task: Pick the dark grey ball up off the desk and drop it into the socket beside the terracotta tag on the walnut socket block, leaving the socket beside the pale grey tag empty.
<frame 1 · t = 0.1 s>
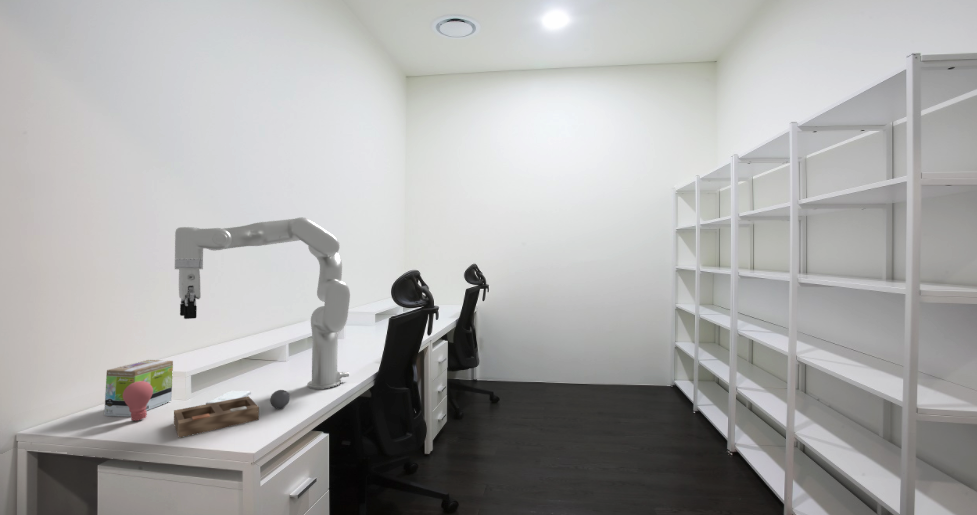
hand: (188, 316, 134), 31 cm above the table, tool pointing down, fingers open, 9 cm apart
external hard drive: (229, 401, 146), on the table
dark grey ball: (280, 399, 138), point 3 cm above the table
light bulb: (137, 421, 126), on the table
socket block: (216, 421, 126), on the table
tea box: (140, 409, 136), on the table
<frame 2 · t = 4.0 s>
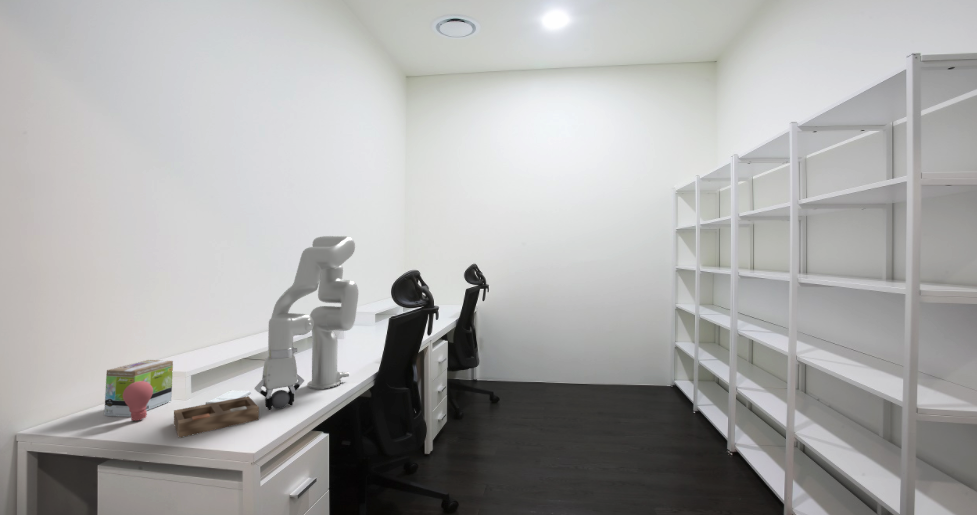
hand: (279, 406, 138), 1 cm above the table, tool pointing down, fingers closed on dark grey ball, 5 cm apart
dark grey ball: (279, 399, 138), point 3 cm above the table, touching gripper
everything else where it was.
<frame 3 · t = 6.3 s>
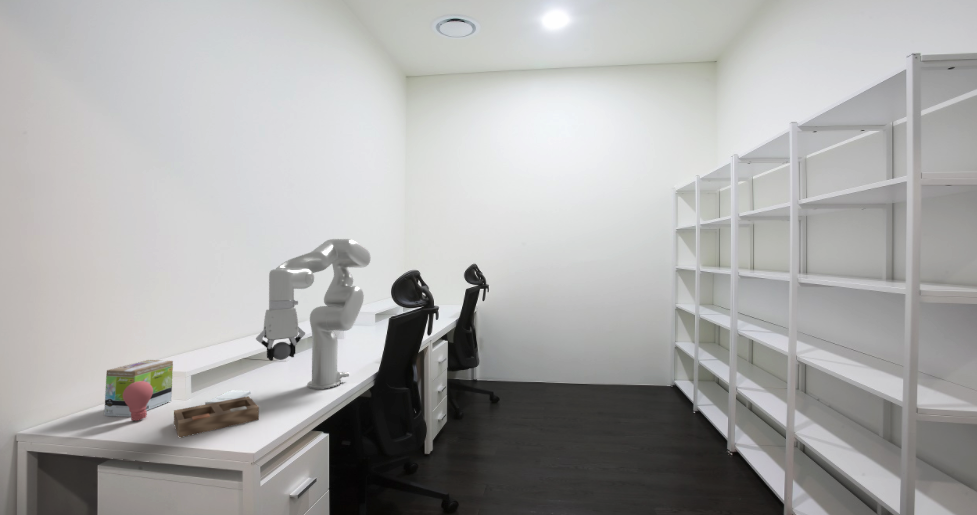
hand: (281, 357, 138), 17 cm above the table, tool pointing down, fingers closed on dark grey ball, 5 cm apart
dark grey ball: (281, 350, 138), point 19 cm above the table, touching gripper
everything else where it was.
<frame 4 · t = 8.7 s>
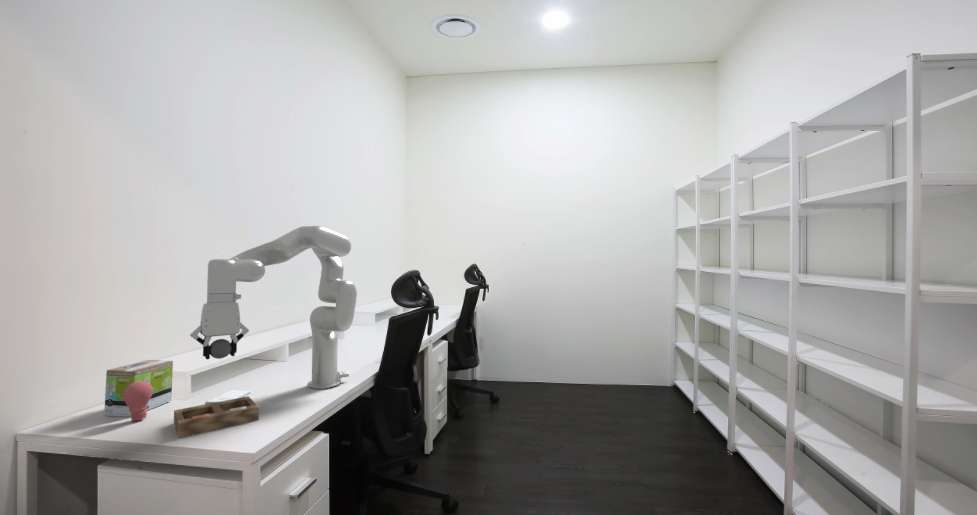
hand: (219, 356, 126), 20 cm above the table, tool pointing down, fingers closed on dark grey ball, 5 cm apart
dark grey ball: (220, 348, 126), point 22 cm above the table, touching gripper
everything else where it was.
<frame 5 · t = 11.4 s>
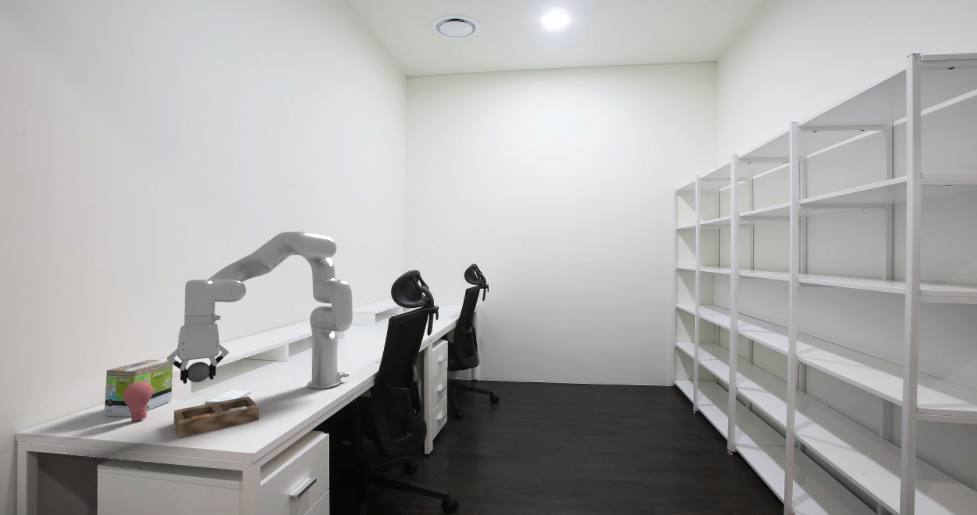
hand: (198, 380, 123), 14 cm above the table, tool pointing down, fingers closed on dark grey ball, 5 cm apart
dark grey ball: (198, 372, 123), point 16 cm above the table, touching gripper
everything else where it was.
when the fingers open (5 cm above the table, at t = 13.8 s): dark grey ball drops 4 cm, point 3 cm above the table.
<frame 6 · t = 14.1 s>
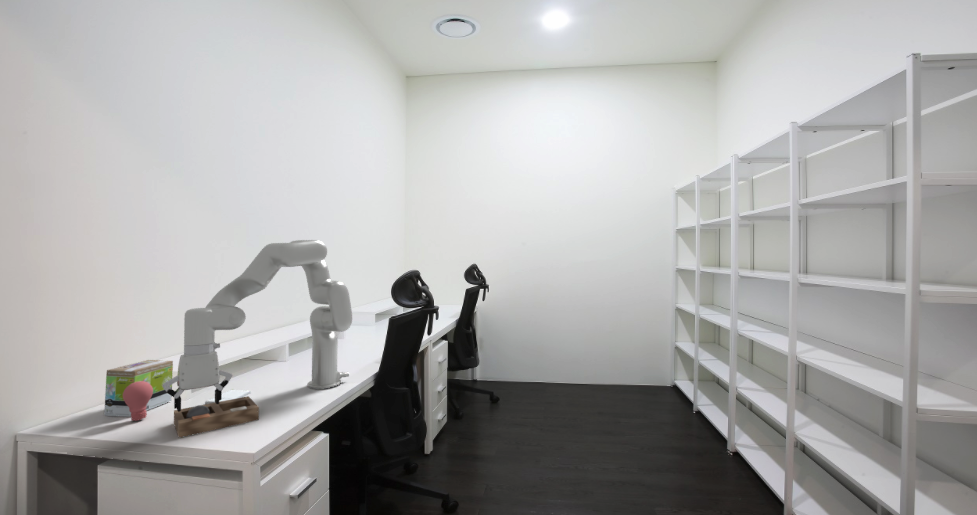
hand: (198, 406, 123), 6 cm above the table, tool pointing down, fingers open, 9 cm apart
dark grey ball: (198, 415, 123), point 3 cm above the table
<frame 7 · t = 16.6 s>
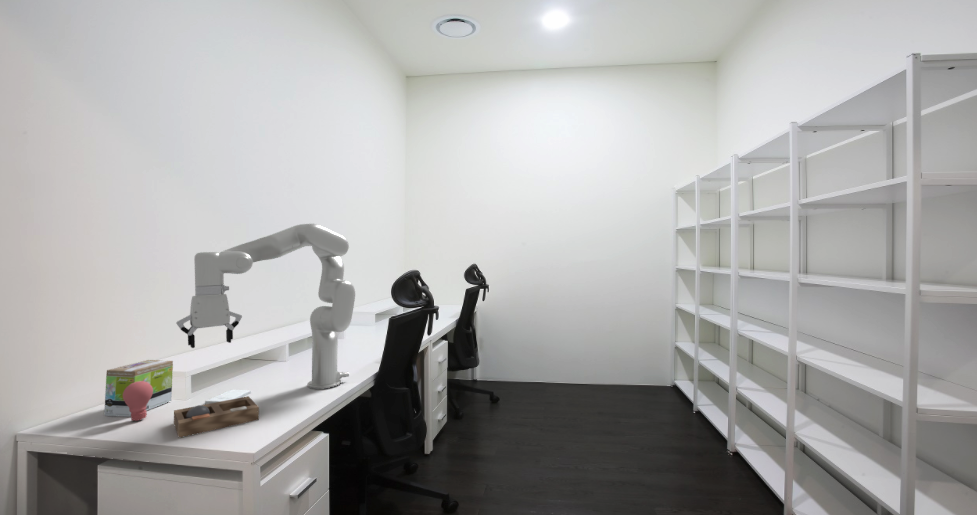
hand: (211, 344, 129), 23 cm above the table, tool pointing down, fingers open, 9 cm apart
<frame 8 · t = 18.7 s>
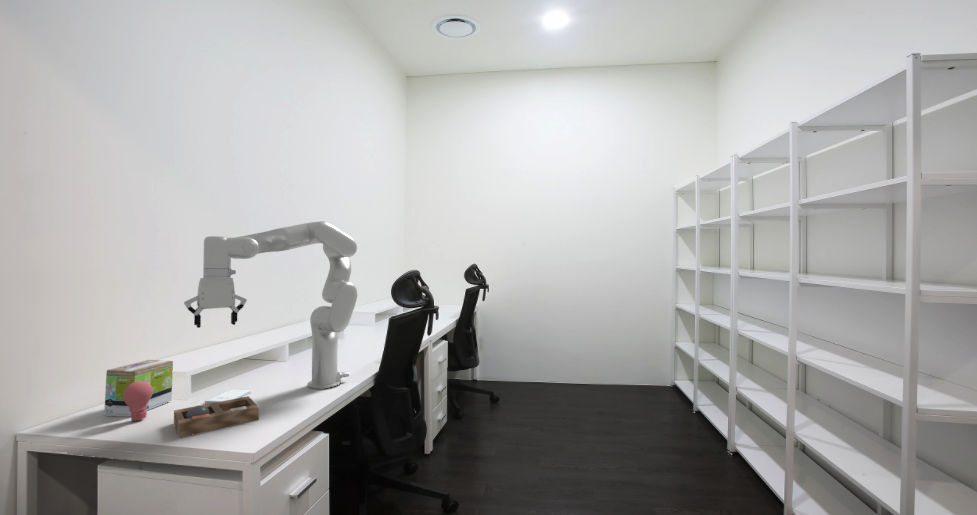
hand: (216, 325, 134), 28 cm above the table, tool pointing down, fingers open, 9 cm apart
at the end: dark grey ball 0.1 cm from the target spot on the socket block, point 3.0 cm above the socket block's base; the gripper is holding nothing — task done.
